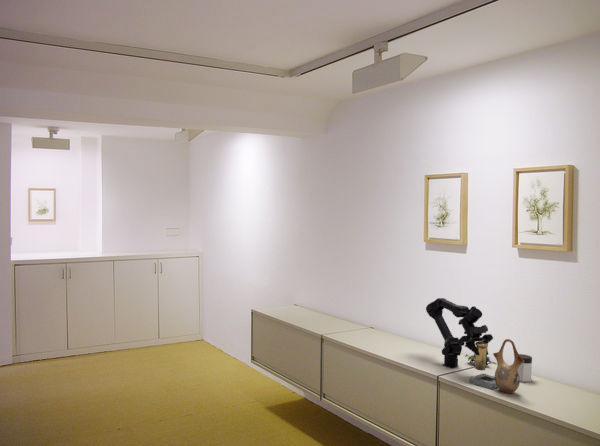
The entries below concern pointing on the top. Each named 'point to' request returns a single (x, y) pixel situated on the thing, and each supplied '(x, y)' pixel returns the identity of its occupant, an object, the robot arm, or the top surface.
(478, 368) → the brass goblet
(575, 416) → the top surface
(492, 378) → the grey square flat frame
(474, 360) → the passion flower
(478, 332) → the robot arm
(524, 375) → the jar
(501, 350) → the ceramic vessel
